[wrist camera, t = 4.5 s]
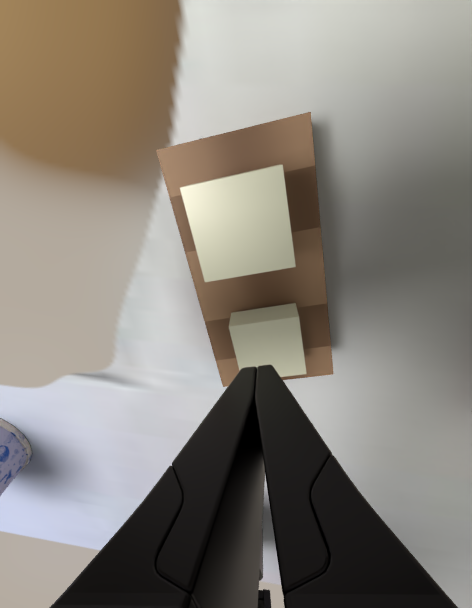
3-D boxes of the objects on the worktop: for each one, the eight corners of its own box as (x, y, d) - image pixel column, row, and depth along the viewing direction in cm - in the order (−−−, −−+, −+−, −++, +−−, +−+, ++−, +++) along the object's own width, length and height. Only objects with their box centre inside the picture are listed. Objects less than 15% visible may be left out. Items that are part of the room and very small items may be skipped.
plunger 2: (245, 337, 21) (242, 381, 17) (235, 291, 20) (228, 326, 15) (297, 330, 20) (306, 373, 16) (290, 282, 19) (299, 316, 15)
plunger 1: (219, 251, 16) (204, 282, 12) (203, 180, 15) (179, 187, 10) (285, 238, 16) (295, 266, 11) (276, 164, 14) (282, 164, 10)
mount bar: (227, 359, 22) (223, 386, 19) (173, 152, 16) (156, 150, 14) (323, 347, 21) (333, 374, 18) (301, 121, 15) (310, 111, 13)
